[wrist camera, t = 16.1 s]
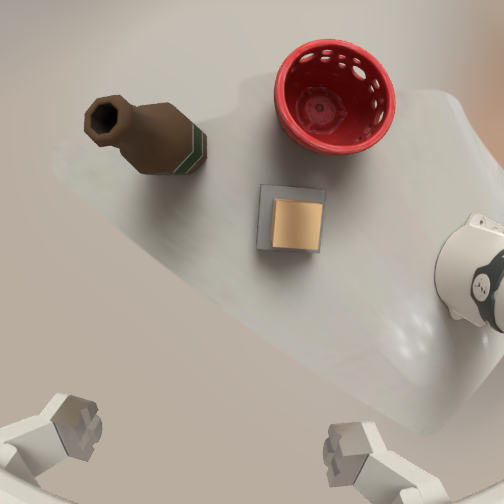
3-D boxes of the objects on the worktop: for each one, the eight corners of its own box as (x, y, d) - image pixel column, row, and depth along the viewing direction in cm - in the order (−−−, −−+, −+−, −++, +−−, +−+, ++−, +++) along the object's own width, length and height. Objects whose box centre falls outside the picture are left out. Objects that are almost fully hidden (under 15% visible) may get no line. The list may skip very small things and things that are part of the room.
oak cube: (313, 201, 38) (322, 204, 33) (309, 241, 39) (317, 249, 35) (273, 198, 38) (276, 200, 33) (270, 238, 39) (272, 246, 34)
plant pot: (264, 73, 38) (268, 37, 26) (355, 71, 38) (386, 41, 26) (274, 163, 41) (282, 157, 29) (366, 158, 41) (404, 153, 29)
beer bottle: (218, 131, 40) (177, 77, 17) (197, 184, 42) (132, 193, 18) (167, 114, 39) (82, 56, 16) (147, 166, 41) (43, 159, 18)
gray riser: (319, 189, 42) (325, 190, 38) (313, 246, 44) (319, 253, 40) (260, 184, 42) (261, 184, 38) (256, 242, 44) (256, 249, 40)
